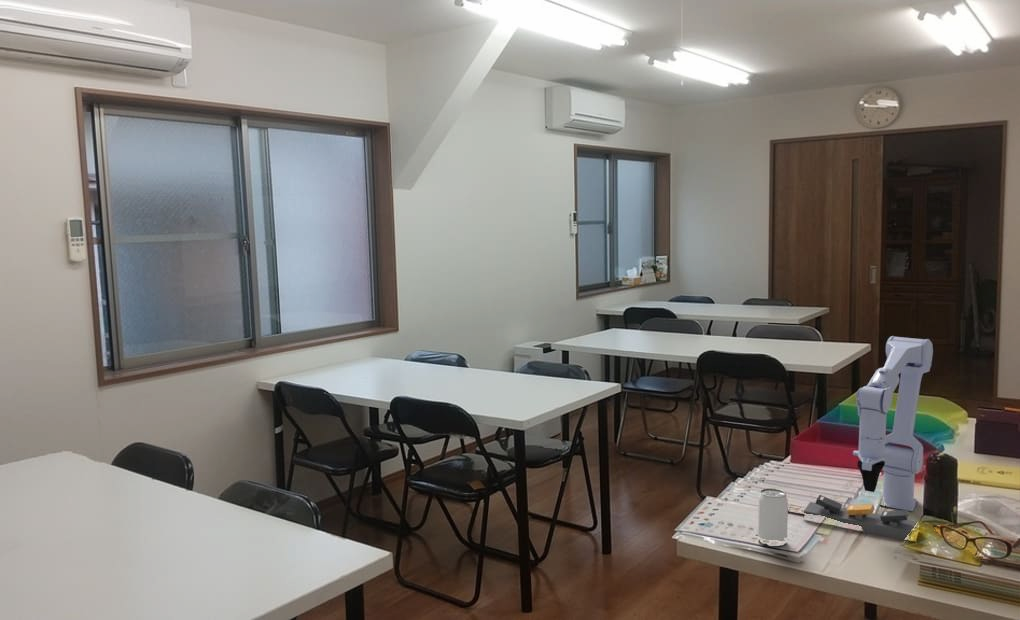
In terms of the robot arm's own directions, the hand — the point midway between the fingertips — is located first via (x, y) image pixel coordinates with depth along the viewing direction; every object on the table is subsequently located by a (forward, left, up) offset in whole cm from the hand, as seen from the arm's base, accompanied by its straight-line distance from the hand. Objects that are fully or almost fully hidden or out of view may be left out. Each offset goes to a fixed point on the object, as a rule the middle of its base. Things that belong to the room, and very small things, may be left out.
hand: (869, 490), depth 181 cm
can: (+20, -18, -10) cm, 28 cm away
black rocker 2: (0, +6, -6) cm, 8 cm away
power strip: (0, -4, -9) cm, 10 cm away
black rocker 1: (0, -9, -6) cm, 11 cm away
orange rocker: (0, -2, -6) cm, 6 cm away
